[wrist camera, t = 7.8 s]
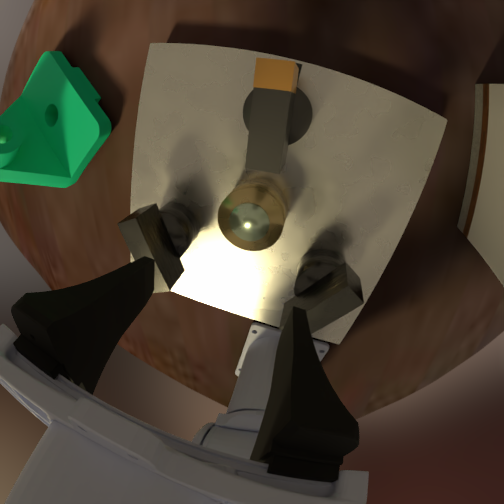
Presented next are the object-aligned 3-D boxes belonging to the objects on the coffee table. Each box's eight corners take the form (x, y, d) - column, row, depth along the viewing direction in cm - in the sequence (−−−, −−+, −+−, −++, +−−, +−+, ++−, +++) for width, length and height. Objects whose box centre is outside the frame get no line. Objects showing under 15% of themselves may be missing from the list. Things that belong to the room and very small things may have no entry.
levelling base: (339, 328, 25) (338, 390, 19) (141, 264, 27) (101, 307, 21) (436, 117, 15) (487, 129, 9) (164, 46, 16) (104, 34, 10)
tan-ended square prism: (306, 157, 16) (301, 178, 12) (248, 148, 17) (223, 165, 13) (318, 76, 14) (318, 65, 10) (257, 69, 14) (234, 56, 10)
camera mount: (123, 125, 20) (24, 156, 11) (82, 179, 24) (2, 223, 15) (66, 47, 17) (-21, 53, 8) (33, 102, 20) (-42, 125, 12)
